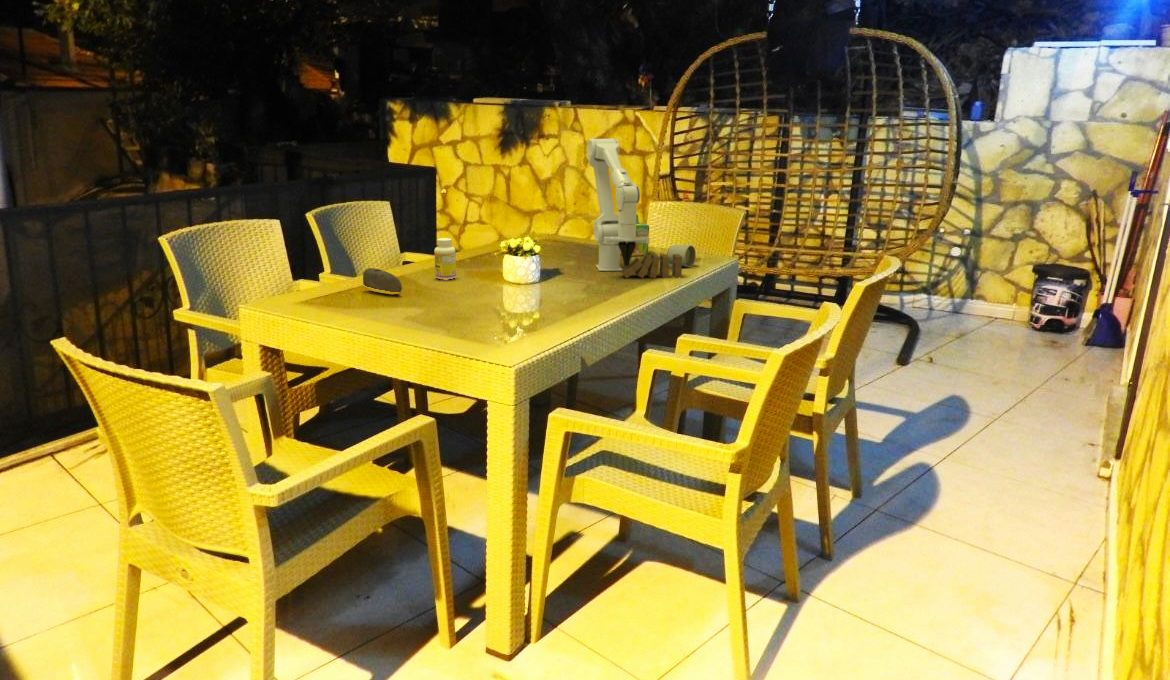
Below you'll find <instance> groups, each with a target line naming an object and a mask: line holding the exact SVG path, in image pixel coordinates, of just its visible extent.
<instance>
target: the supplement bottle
mask: <svg viewBox="0 0 1170 680" xmlns="http://www.w3.org/2000/svg"><path fill="white" fill-rule="evenodd" d="M436 243H437V246H436V247H435V248H434V251H433V252H434V274H435V279H436V278H440V279H453V278H455V279H456V278H457V260H456V259H457V258H456V256H457V255H456V248H455V246H452V245H453V244H452V243H453V239H452V238H450V237H440V238H437V240H436ZM453 280H454V279H453Z"/></svg>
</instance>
